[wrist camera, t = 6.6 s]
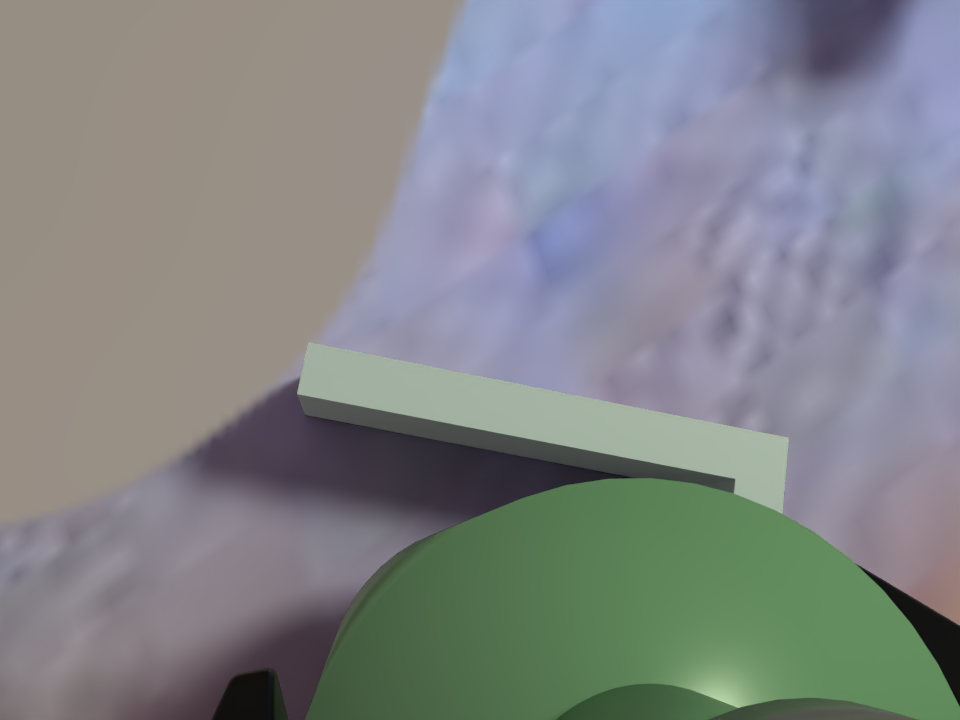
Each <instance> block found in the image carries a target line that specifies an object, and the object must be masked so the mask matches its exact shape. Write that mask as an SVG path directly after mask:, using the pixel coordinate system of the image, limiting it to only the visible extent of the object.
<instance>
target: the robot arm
mask: <svg viewBox="0 0 960 720" xmlns="http://www.w3.org/2000/svg"><path fill="white" fill-rule="evenodd" d="M855 564H856V563H855ZM856 565H857V564H856ZM857 566H858V567H859V568H860V569H861V570H862V571H863V572H865V573H866V574H867V575H868V576H869V577H870V578H871V579H872V580H873V581H874V582H875V583H876V584H877V585H878V586H879V587H880V588H881V589H882V590H883V591H884V592H885V593H886V594H887V595H888V597H889V598H890V599H891V600H892V601H893V603H894V604H895V605H896V606H897V607H898V609H899V610H900V611H901V612H902V613H903V615H904V616H905V617H906V618H907V619H908V621H909V622H910V623H911V624H912V625H913V627H914V629H915V630H916V632H917V633H918V635H919V636H920V638H921V639H922V641H923V642H924V644H925V645H926V647H927V648H928V650H929V651H930V653H931V654H932V656H933V657H934V659H935V660H936V662H937V663H938V665H939V667H940V669H941V671H942V673H943V675H944V677H945V679H946V681H947V683H948V685H949V687H950V689H951V691H952V693H953V695H954V697H955V699H956V701H957V702H958V704H959V706H960V625H958V624H956V623H954V622H953V621H951V620H949V619H948V618H946V617H944V616H943V615H941V614H939V613H938V612H936V611H934V610H933V609H931V608H929V607H928V606H926V605H924V604H923V603H921V602H919V601H918V600H916V599H914V598H913V597H911V596H909V595H908V594H906V593H904V592H903V591H901V590H899V589H897V588H896V587H894V586H892V585H891V584H889V583H887V582H886V581H884V580H882V579H881V578H879V577H877V576H876V575H874V574H872V573H871V572H869V571H867V570H866V569H864V568H862V567H861V566H859V565H857ZM212 720H288V717H287V713H286V709H285V705H284V700H283V696H282V692H281V688H280V684H279V680H278V676H277V673H276V672H275V670H274V669H272V668H264V669H259V670H254V671H249V672H244V673H239V674H237V675H235V676H234V677H233V678H232V679H231V680H230V682H229V684H228V685H227V687H226V690H225V692H224V694H223V696H222V698H221V700H220V702H219V705H218V707H217V709H216V711H215V713H214V715H213V717H212Z"/></svg>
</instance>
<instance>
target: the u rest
mask: <svg viewBox="0 0 960 720" xmlns="http://www.w3.org/2000/svg"><path fill="white" fill-rule="evenodd" d="M297 396H298V398H299V401H300V403H301V406H302V408H303V411H304V413H305V415H308V416H313V417H318V418H324V419H329V420H334V421H339V422H345V423H350V424H355V425H360V426H366V427H371V428H376V429H381V430H386V431H392V432H397V433H402V434H407V435H413V436H418V437H423V438H428V439H433V440H439V441H444V442H449V443H454V444H460V445H465V446H470V447H475V448H481V449H486V450H491V451H496V452H501V453H507V454H512V455H517V456H522V457H528V458H533V459H538V460H543V461H548V462H554V463H559V464H564V465H569V466H575V467H580V468H585V469H590V470H595V471H601V472H606V473H611V474H616V475H622V476H627V477H632V478H654V479H663V480H671V481H679V482H687V483H695V484H699V485H702V486H706V487H710V488H714V489H718V490H722V491H725V492H729V493H733V494H736V495H739V496H741V497H744V498H746V499H749V500H751V501H754V502H756V503H759V504H761V505H764V506H766V507H768V508H771V509H773V510H776V511H778V512H779V513H781V514H782V511H783V499H784V487H785V476H786V464H787V453H788V441H789V438H787V437H782V436H777V435H772V434H767V433H762V432H757V431H752V430H747V429H742V428H736V427H731V426H726V425H721V424H716V423H711V422H706V421H701V420H696V419H691V418H686V417H681V416H676V415H671V414H666V413H661V412H656V411H651V410H646V409H641V408H636V407H631V406H626V405H621V404H616V403H611V402H606V401H601V400H596V399H591V398H586V397H581V396H576V395H571V394H566V393H561V392H556V391H551V390H546V389H541V388H536V387H531V386H526V385H521V384H516V383H511V382H506V381H501V380H496V379H491V378H486V377H481V376H476V375H471V374H466V373H461V372H456V371H451V370H446V369H441V368H436V367H431V366H426V365H421V364H416V363H410V362H405V361H400V360H395V359H390V358H385V357H380V356H375V355H370V354H365V353H360V352H355V351H350V350H345V349H340V348H335V347H330V346H325V345H320V344H315V343H310V342H309V343H308V347H307V352H306V356H305V360H304V365H303V369H302V374H301V378H300V382H299V387H298V391H297Z"/></svg>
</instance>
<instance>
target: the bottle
mask: <svg viewBox="0 0 960 720" xmlns="http://www.w3.org/2000/svg"><path fill="white" fill-rule="evenodd" d="M305 720H960V706H959V704H958V702H957V701H956V699H955V697H954V695H953V693H952V691H951V689H950V687H949V685H948V683H947V681H946V679H945V677H944V675H943V673H942V671H941V669H940V667H939V665H938V663H937V662H936V660H935V659H934V657H933V656H932V654H931V653H930V651H929V650H928V648H927V647H926V645H925V644H924V642H923V641H922V639H921V638H920V636H919V635H918V633H917V632H916V630H915V629H914V627H913V625H912V624H911V623H910V622H909V621H908V619H907V618H906V617H905V616H904V615H903V613H902V612H901V611H900V610H899V609H898V607H897V606H896V605H895V604H894V603H893V601H892V600H891V599H890V598H889V597H888V595H887V594H886V593H885V592H884V591H883V590H882V589H881V588H880V587H879V586H878V585H877V584H876V583H875V582H874V581H873V580H872V579H871V578H870V577H869V576H868V575H867V574H866V573H865V572H863V571H862V570H861V569H860V568H859V567H858V566H857V565H856V564H855V563H854V562H853V561H852V560H851V559H850V558H848V557H847V556H846V555H844V554H843V553H842V552H840V551H839V550H838V549H836V548H835V547H834V546H832V545H831V544H829V543H828V542H827V541H825V540H824V539H823V538H821V537H820V536H819V535H817V534H816V533H815V532H813V531H811V530H810V529H808V528H806V527H804V526H802V525H801V524H799V523H797V522H795V521H794V520H792V519H790V518H788V517H786V516H785V515H783V514H781V513H779V512H778V511H776V510H773V509H771V508H768V507H766V506H764V505H761V504H759V503H756V502H754V501H751V500H749V499H746V498H744V497H741V496H739V495H736V494H733V493H729V492H725V491H722V490H718V489H714V488H710V487H706V486H702V485H699V484H695V483H687V482H679V481H671V480H663V479H654V478H628V479H604V480H597V481H591V482H584V483H577V484H571V485H565V486H561V487H558V488H555V489H551V490H548V491H544V492H541V493H538V494H534V495H531V496H528V497H524V498H521V499H519V500H516V501H514V502H512V503H509V504H507V505H504V506H502V507H499V508H497V509H494V510H492V511H489V512H487V513H484V514H482V515H479V516H477V517H475V518H472V519H470V520H467V521H465V522H462V523H460V524H457V525H455V526H452V527H450V528H447V529H445V530H443V531H440V532H438V533H435V534H433V535H430V536H428V537H426V538H424V539H422V540H419V541H417V542H415V543H413V544H412V545H410V546H408V547H407V548H405V549H403V550H402V551H400V552H399V553H397V554H396V555H395V556H393V557H392V558H391V559H390V560H388V561H387V562H386V563H385V564H383V565H382V566H381V567H380V568H379V569H378V570H377V571H376V572H375V573H374V574H373V575H372V576H371V578H370V579H369V580H368V581H367V582H366V583H365V584H364V586H363V587H362V588H361V590H360V591H359V592H358V594H357V595H356V597H355V598H354V599H353V601H352V603H351V605H350V606H349V608H348V610H347V612H346V614H345V615H344V617H343V619H342V621H341V624H340V626H339V629H338V631H337V634H336V636H335V639H334V641H333V644H332V647H331V650H330V652H329V655H328V658H327V661H326V664H325V666H324V669H323V672H322V675H321V677H320V680H319V683H318V686H317V688H316V691H315V694H314V697H313V699H312V702H311V705H310V708H309V710H308V713H307V716H306V719H305Z"/></svg>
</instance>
